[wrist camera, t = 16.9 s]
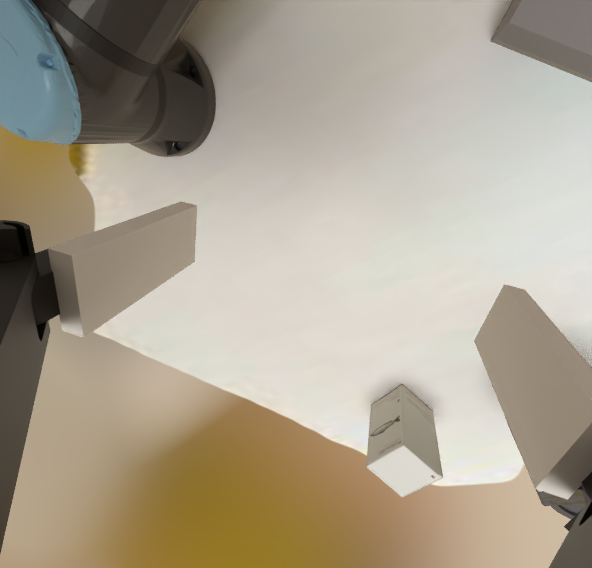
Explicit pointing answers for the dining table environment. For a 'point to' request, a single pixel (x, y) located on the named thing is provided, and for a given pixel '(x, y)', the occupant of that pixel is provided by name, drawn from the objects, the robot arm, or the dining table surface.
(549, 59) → the socket block
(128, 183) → the dining table surface
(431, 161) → the dining table surface
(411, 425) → the supplement box
